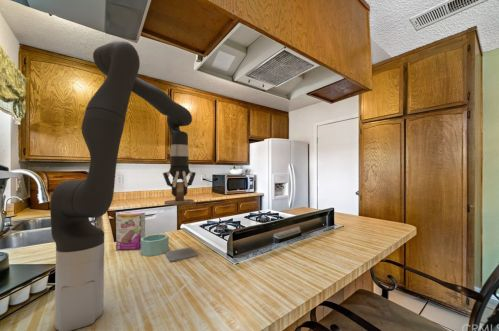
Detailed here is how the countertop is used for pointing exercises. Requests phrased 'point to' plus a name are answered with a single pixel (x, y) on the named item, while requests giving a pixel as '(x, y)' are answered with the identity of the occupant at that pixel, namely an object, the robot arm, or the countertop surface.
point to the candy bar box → (130, 230)
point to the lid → (179, 196)
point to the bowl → (154, 244)
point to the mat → (180, 254)
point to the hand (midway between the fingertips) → (179, 195)
